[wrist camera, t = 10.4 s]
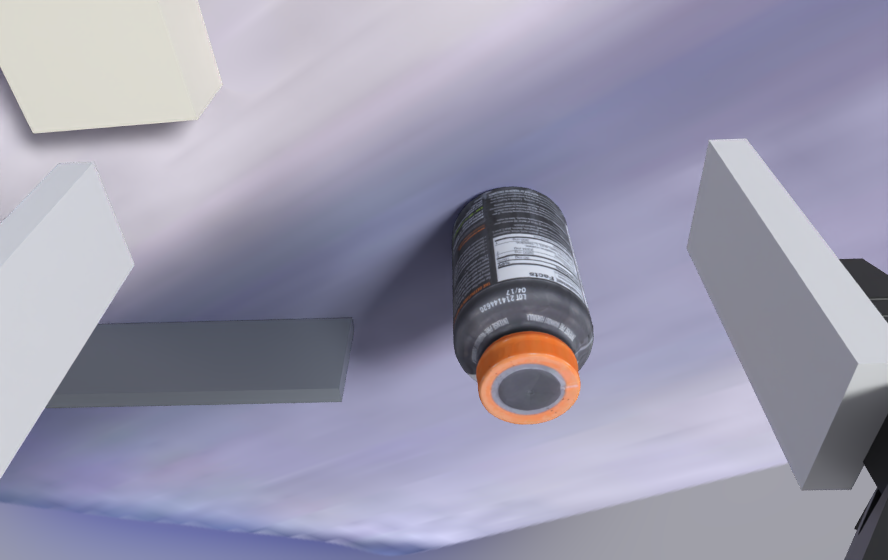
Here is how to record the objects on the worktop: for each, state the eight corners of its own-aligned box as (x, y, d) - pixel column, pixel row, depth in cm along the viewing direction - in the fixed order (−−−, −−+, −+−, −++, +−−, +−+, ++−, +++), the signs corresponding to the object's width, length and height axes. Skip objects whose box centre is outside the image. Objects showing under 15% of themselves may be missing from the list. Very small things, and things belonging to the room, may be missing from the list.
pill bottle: (492, 295, 38) (504, 462, 29) (429, 220, 35) (420, 381, 26) (587, 244, 36) (632, 407, 27) (529, 161, 33) (558, 313, 24)
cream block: (75, 95, 31) (33, 133, 28) (2, -73, 27) (-58, -50, 24) (224, 83, 31) (197, 119, 28) (173, -90, 27) (134, -70, 24)
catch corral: (-16, 340, 40) (-73, 410, 36) (-321, -161, 25) (-483, -144, 21) (353, 330, 40) (341, 401, 35) (268, -192, 24) (228, -180, 20)
